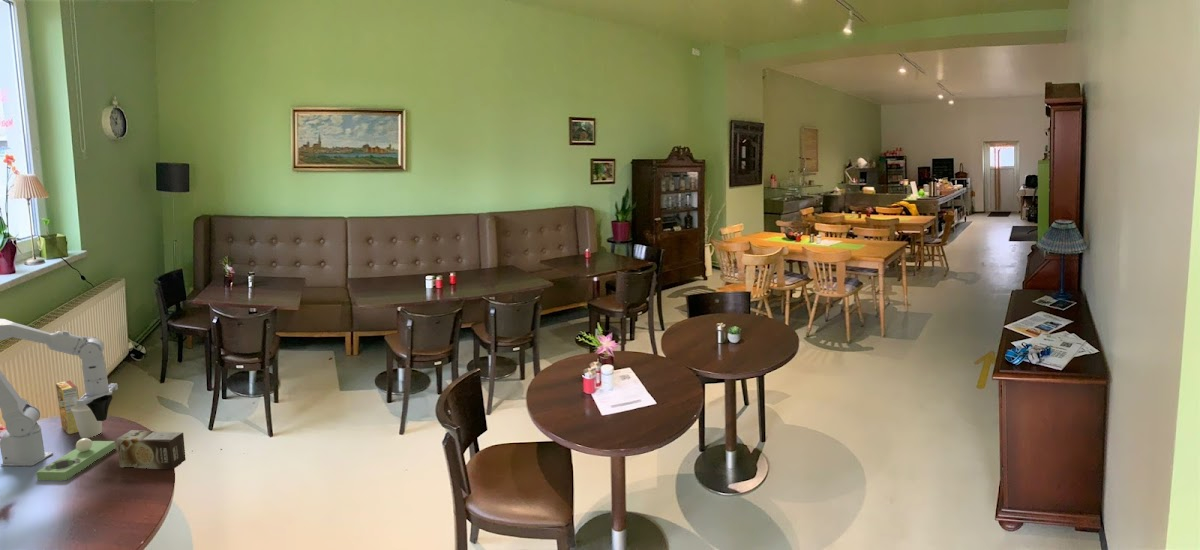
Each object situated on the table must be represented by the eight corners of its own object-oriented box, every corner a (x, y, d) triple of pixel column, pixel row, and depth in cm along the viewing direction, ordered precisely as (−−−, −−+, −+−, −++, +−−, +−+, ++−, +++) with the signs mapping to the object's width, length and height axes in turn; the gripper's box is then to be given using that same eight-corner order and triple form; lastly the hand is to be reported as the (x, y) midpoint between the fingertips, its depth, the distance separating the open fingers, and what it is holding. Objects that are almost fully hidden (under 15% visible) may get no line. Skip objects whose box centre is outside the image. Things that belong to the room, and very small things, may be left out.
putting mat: (37, 480, 191) (36, 471, 191) (90, 448, 211) (88, 440, 210) (66, 480, 191) (64, 472, 191) (115, 448, 211) (114, 441, 210)
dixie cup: (70, 441, 216) (65, 411, 214) (81, 430, 224) (77, 401, 222) (100, 438, 218) (96, 408, 216) (111, 427, 226) (107, 399, 224)
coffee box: (115, 438, 197) (168, 440, 196) (131, 429, 203) (183, 431, 202) (119, 468, 199) (172, 470, 198) (135, 458, 205) (186, 460, 204)
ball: (73, 454, 202) (71, 441, 201) (83, 448, 206) (81, 435, 205) (86, 454, 202) (84, 441, 201) (96, 448, 206) (94, 435, 205)
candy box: (61, 427, 226) (54, 383, 223) (76, 423, 229) (70, 379, 226) (68, 434, 220) (61, 389, 217) (84, 430, 224) (77, 386, 221)
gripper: (91, 386, 200) (97, 430, 203) (125, 370, 215) (130, 410, 217) (67, 386, 200) (73, 429, 203) (102, 370, 215) (108, 410, 217)
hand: (101, 420), depth 210 cm, fingers closed
